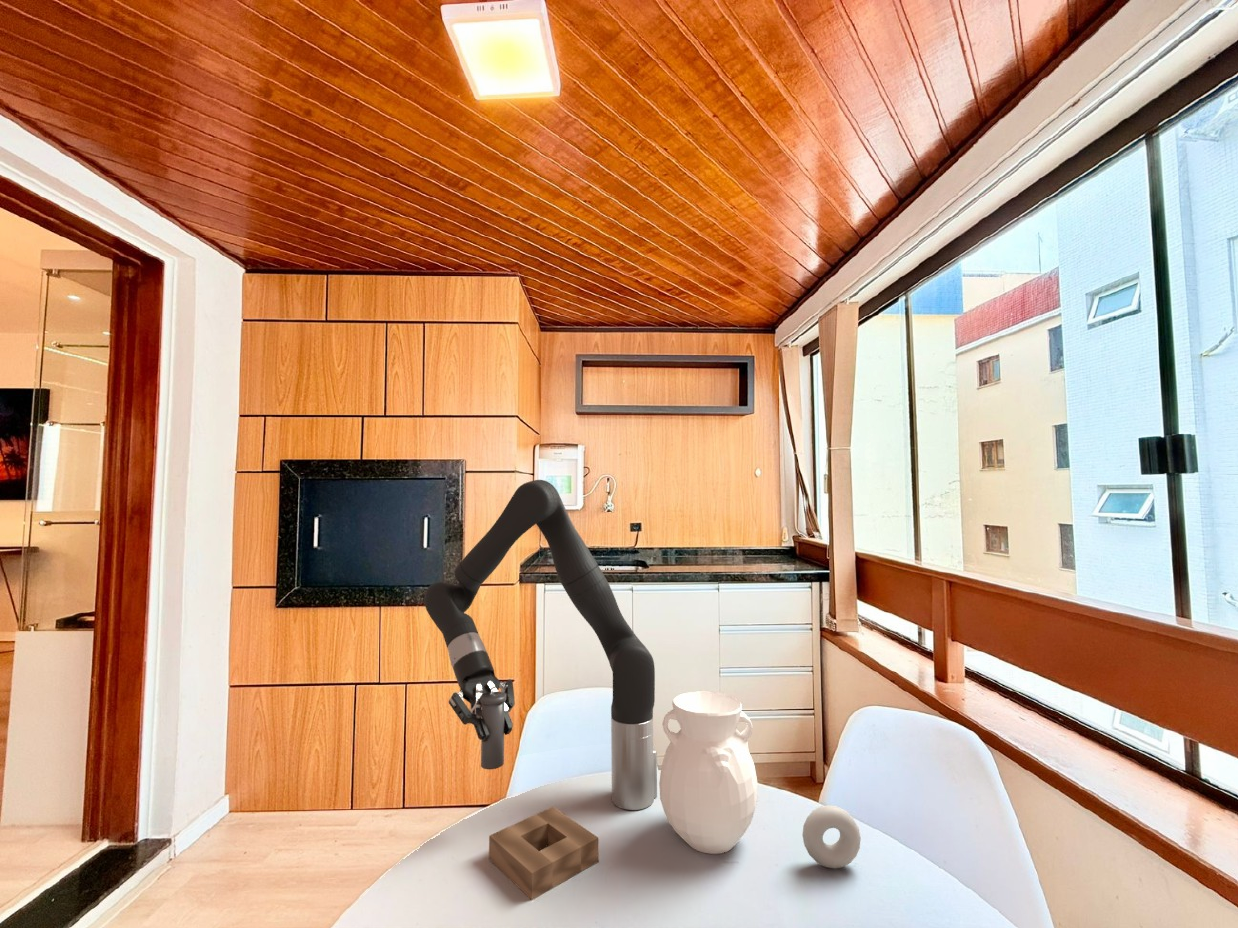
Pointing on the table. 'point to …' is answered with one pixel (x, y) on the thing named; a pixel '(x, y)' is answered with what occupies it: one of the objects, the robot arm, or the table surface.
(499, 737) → the plug
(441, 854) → the table surface
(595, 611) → the robot arm
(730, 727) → the white handled vase
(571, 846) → the socket block
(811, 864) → the table surface
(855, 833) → the donut
